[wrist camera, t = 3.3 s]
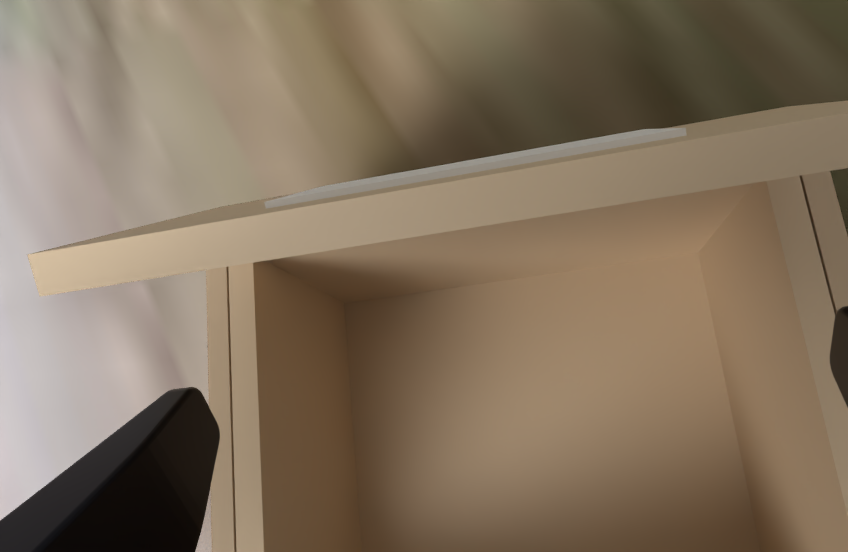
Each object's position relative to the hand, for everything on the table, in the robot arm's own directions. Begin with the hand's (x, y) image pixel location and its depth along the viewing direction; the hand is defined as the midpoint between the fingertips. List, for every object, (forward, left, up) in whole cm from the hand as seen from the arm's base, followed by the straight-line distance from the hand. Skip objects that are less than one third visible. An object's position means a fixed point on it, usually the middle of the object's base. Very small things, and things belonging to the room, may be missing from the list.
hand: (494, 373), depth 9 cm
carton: (-2, -1, -11) cm, 11 cm away
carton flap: (+3, +1, -1) cm, 3 cm away
